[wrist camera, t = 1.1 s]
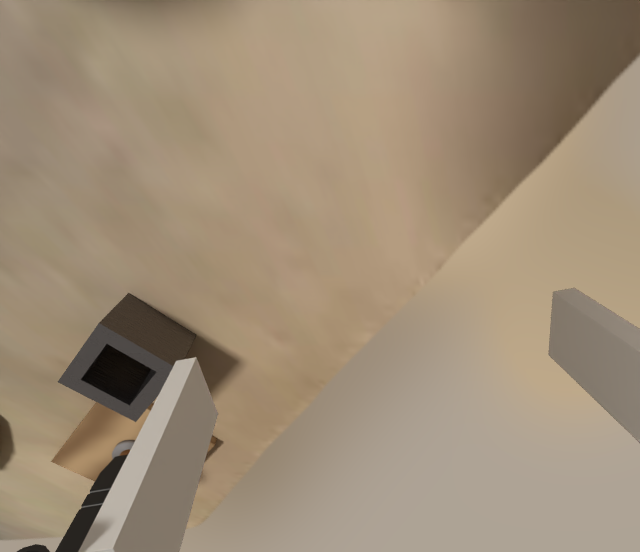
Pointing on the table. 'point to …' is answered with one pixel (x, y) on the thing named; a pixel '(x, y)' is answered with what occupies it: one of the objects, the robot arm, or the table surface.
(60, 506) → the table surface
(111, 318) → the hollow square block
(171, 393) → the robot arm
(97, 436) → the keeper
